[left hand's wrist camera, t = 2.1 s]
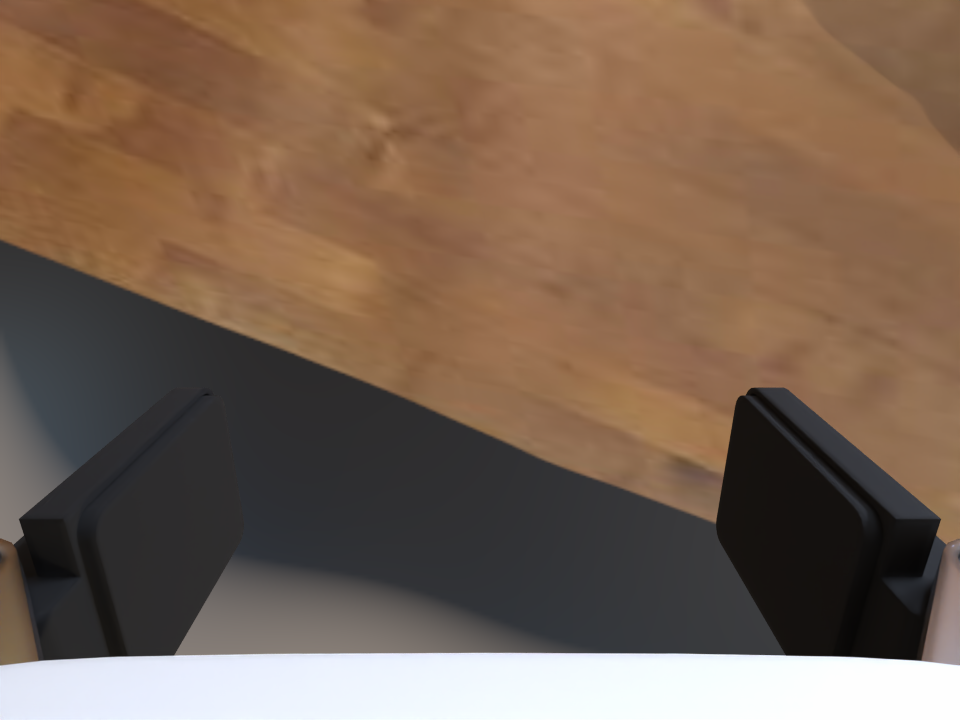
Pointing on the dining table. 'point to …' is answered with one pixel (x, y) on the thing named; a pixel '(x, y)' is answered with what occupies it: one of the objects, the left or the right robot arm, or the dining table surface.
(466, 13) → the dining table surface
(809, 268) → the dining table surface
